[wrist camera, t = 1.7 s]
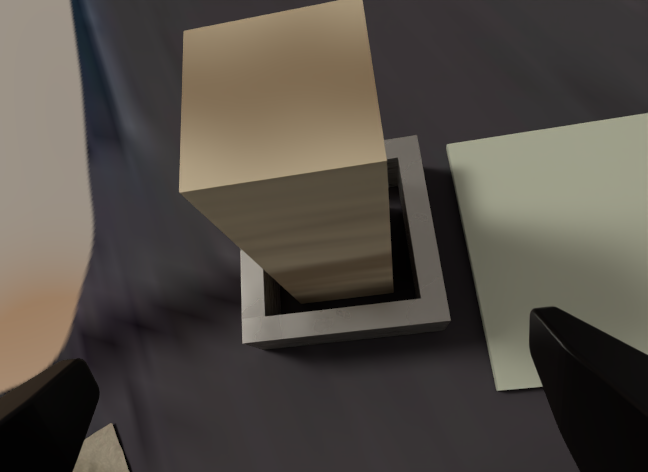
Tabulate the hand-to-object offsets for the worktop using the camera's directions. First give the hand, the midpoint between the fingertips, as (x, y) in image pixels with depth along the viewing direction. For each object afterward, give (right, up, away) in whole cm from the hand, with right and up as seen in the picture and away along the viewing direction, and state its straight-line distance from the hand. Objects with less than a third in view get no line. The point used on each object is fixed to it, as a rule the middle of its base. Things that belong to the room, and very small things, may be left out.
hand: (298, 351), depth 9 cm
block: (+1, +1, +13) cm, 14 cm away
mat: (+13, +2, +12) cm, 18 cm away
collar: (+1, +1, +13) cm, 14 cm away
